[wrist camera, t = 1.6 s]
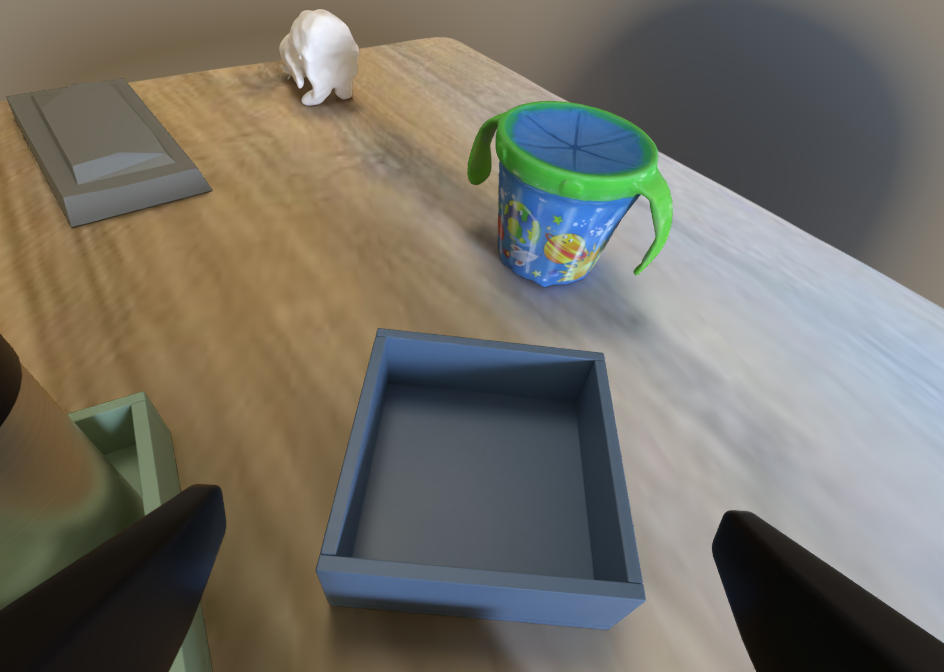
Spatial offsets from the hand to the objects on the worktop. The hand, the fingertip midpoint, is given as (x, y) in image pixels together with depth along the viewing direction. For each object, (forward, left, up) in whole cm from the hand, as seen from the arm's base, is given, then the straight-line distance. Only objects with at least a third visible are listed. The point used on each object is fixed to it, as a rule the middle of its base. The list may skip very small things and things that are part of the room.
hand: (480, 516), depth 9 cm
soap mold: (+16, +45, -15) cm, 51 cm away
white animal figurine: (+38, +42, -16) cm, 59 cm away
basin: (+8, +3, -15) cm, 17 cm away
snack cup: (+27, +8, -15) cm, 32 cm away
